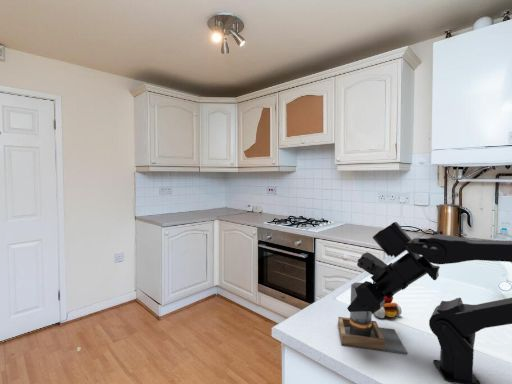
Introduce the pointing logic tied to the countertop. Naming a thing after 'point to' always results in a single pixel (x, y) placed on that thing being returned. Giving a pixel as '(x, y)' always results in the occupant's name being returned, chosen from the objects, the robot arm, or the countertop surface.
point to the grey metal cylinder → (359, 318)
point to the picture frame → (371, 338)
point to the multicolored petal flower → (389, 309)
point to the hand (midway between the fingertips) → (355, 304)
